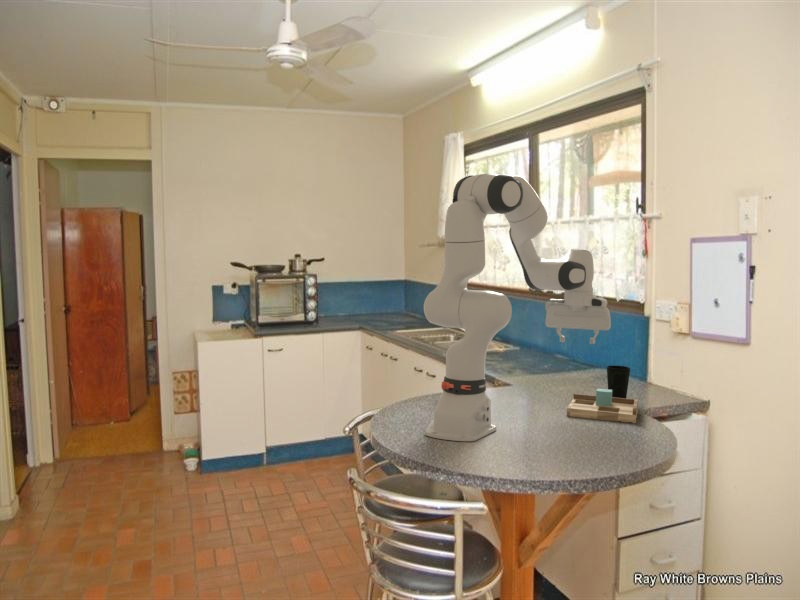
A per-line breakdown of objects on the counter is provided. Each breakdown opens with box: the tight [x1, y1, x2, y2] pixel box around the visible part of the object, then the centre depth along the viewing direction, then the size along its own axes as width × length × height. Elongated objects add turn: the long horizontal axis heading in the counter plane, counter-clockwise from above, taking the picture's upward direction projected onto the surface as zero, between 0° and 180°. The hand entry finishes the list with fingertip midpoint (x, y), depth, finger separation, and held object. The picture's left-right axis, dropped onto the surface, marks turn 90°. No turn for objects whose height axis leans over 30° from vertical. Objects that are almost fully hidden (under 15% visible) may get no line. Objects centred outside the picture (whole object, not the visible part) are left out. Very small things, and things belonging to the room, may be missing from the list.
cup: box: [606, 364, 631, 399], centre depth 215 cm, size 8×8×12 cm
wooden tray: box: [566, 393, 639, 424], centre depth 197 cm, size 16×20×4 cm
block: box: [595, 388, 612, 406], centre depth 199 cm, size 4×4×4 cm
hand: (577, 342), depth 202 cm, fingers open, 8 cm apart
